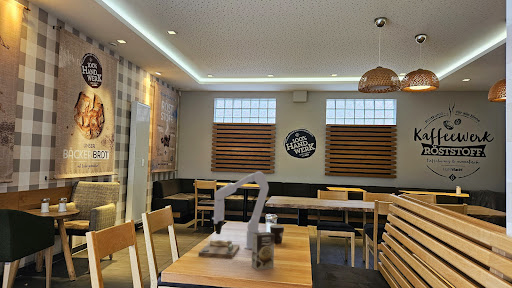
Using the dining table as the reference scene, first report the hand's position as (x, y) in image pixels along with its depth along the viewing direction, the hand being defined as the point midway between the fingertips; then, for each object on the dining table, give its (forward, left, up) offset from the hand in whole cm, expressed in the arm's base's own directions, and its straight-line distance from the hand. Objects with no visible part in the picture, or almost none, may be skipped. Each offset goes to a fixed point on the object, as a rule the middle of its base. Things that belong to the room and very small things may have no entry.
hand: (218, 233), depth 203 cm
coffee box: (-30, +31, -7) cm, 44 cm away
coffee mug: (-34, -19, -7) cm, 39 cm away
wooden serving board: (-4, +11, -7) cm, 14 cm away
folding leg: (-3, +5, -5) cm, 8 cm away
